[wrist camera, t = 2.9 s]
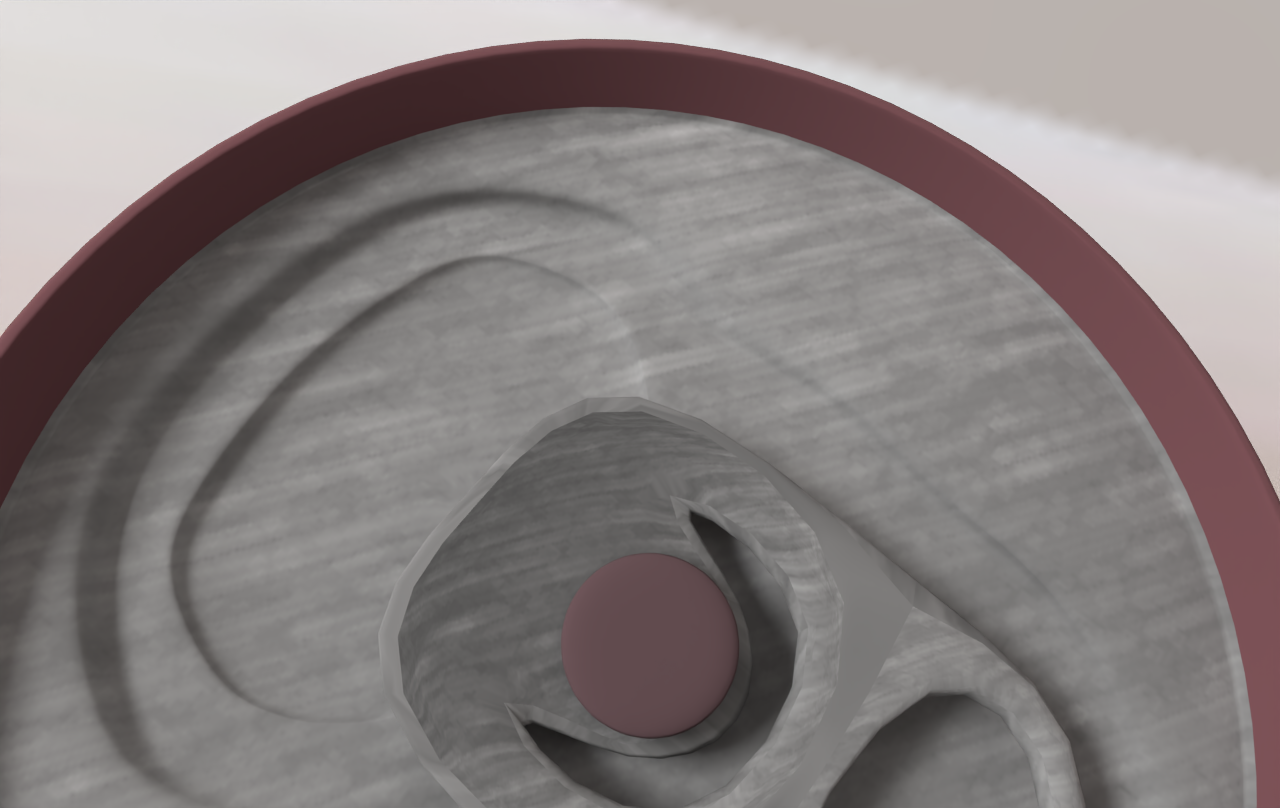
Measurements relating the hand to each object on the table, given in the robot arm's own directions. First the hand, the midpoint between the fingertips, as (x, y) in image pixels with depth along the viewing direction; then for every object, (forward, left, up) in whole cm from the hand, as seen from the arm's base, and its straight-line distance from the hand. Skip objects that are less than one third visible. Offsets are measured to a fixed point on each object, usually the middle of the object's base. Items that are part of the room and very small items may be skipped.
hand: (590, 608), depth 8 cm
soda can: (-1, 0, -8) cm, 8 cm away
